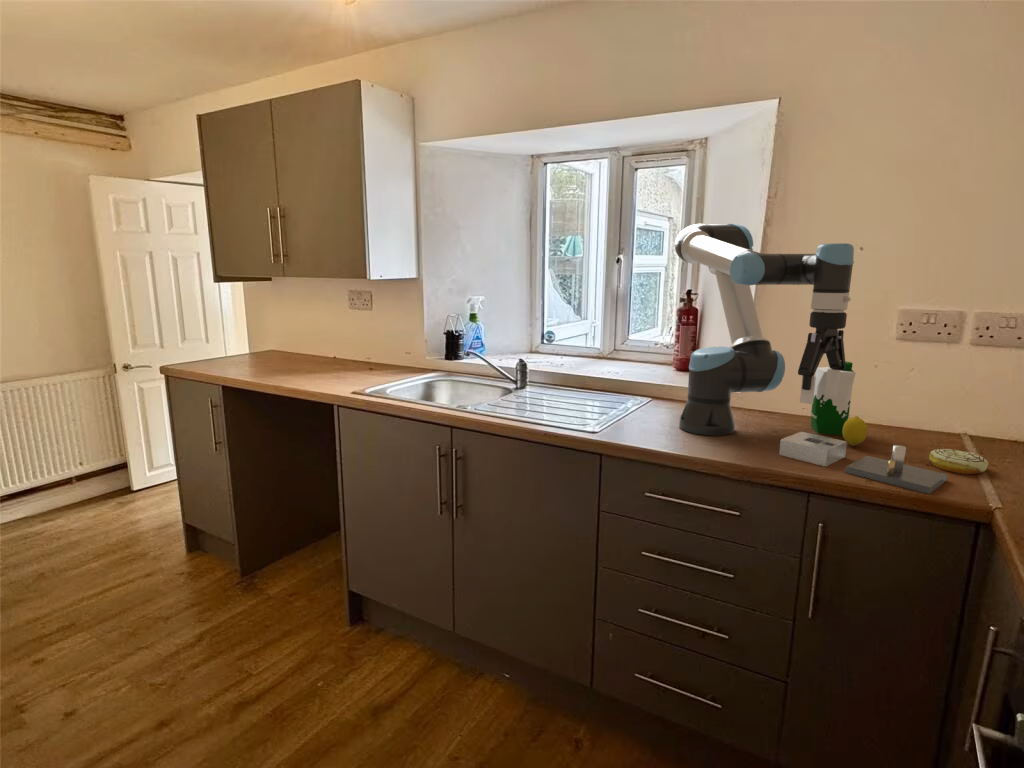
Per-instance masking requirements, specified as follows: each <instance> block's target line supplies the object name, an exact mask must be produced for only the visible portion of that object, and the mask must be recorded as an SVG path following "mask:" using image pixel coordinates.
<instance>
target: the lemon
mask: <svg viewBox="0 0 1024 768" xmlns="http://www.w3.org/2000/svg"><path fill="white" fill-rule="evenodd" d="M842 433H843V435H842V437H843V439H844V441H847V443H849V444H850V445H851V446H853V447H855V446H856V445H858V444H861V443H863V442H864V441H865V439H866V438H867V435H868V425H867V423H866V422H865V420H864V419H862V418H860V417H859V415H858V416H857V415H855V416H853V417H849V418H848V420H847V421H846V422H845V423H844V426H843V430H842Z"/></svg>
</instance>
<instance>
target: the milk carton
mask: <svg viewBox="0 0 1024 768" xmlns="http://www.w3.org/2000/svg"><path fill="white" fill-rule="evenodd" d="M828 369H831V368H830V366H825V367H822V366H818V368H817V370H816V372H815V374H814V376H815V377H816V381H815V391H814V400H813V404H811V413H810V428H811V427H812V428H813V429H812V428H811V429H812V430H814V432H816V433H817V435H834V436H835V435H836V436H843V433H842V430H843V426H844V423H845V422H846V421H847V420H848V419H849V418H850V417H849V416H850V410H851V409H850V408H851V400H852V394H853V393H852V392H853V385H854V383H855V377H856V371H854V370H853V362H851V361H845V370H841V371H840V380H839V389H838V396H830V395H825V389H826V380H827V371H828Z"/></svg>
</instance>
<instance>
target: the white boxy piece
mask: <svg viewBox="0 0 1024 768" xmlns="http://www.w3.org/2000/svg"><path fill="white" fill-rule="evenodd" d="M847 445H848V442H847V441H846V440H841V439H837V438H832V437H829V436H824V435H820V434H815V433H810V432H804V431H799V432H797V433H794V434H792V435H789V436H785V437H783V438H781V439H780V442H779V453H778V455H779V456H782V457H786V458H790V459H793V458H794V459H795V460H798V461H801V462H806V463H810V464H814V465H817V466H822V467H824V466H825V467H824V468H827V467H828V466H830V465H832V464H834V463H836V462H838V461H840V460H842V459H844V458H846V452H847Z"/></svg>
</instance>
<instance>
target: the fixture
mask: <svg viewBox="0 0 1024 768" xmlns="http://www.w3.org/2000/svg"><path fill="white" fill-rule="evenodd" d="M891 452H892V453H891V457H890V459H888V460H886V459H882V458H879V457H875V456H871V455H870V456H869V455H865V456H863V457H862V458H860V459H857V460H856V461H853V462H852V463H850V464H848V465H846V466H845V471H844V473H846V474H850V475H853V476H854V475H855V476H858V477H860V476H861V478H864V477H865V478H864V479H868V478H869V479H870V480H873V481H877V482H881V483H885V484H888V485H893V486H897V487H899V488H904V489H908V490H912V491H915V492H919V493H922V494H926V493H927V495H930V494H931V493H933V492H934V491H935V490H937V489H938V488H940V487H941V486H942V485H943V484H945V483H946V482H947V481H948V473H944V472H938V471H935V470H930V469H925V468H922V467H917V466H913V465H910V464H906V463H905V457H906V456H905V455H906V452H907V447H906V446H904V445H900V444H893V445H892V450H891ZM944 482H945V483H944Z"/></svg>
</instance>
